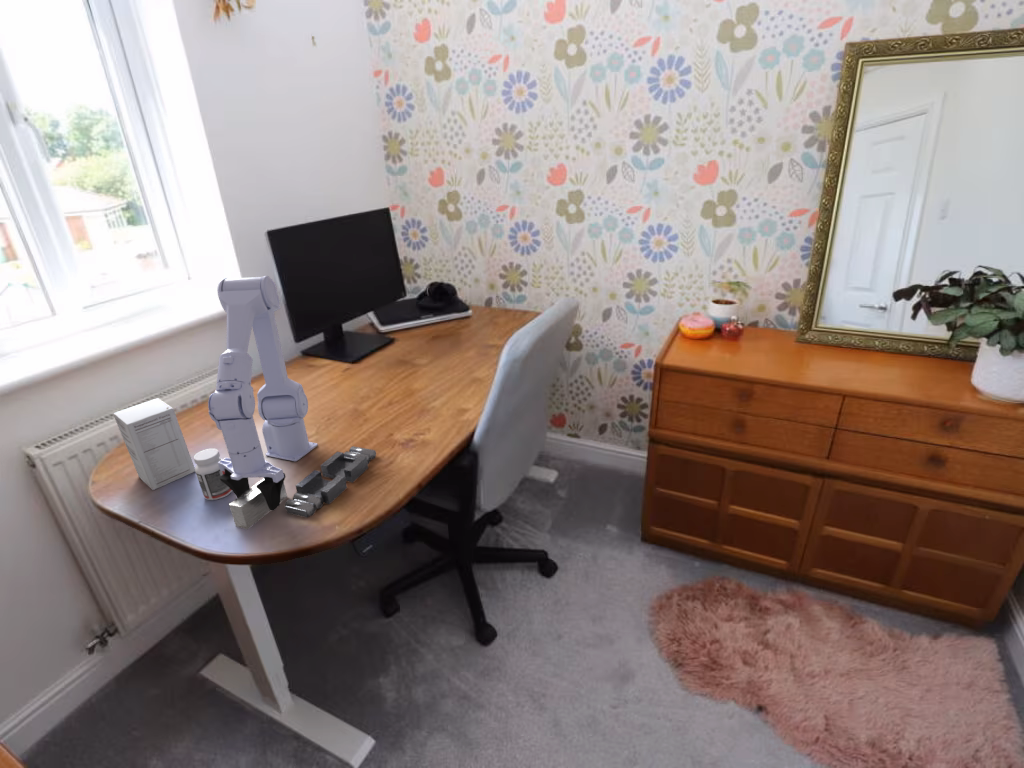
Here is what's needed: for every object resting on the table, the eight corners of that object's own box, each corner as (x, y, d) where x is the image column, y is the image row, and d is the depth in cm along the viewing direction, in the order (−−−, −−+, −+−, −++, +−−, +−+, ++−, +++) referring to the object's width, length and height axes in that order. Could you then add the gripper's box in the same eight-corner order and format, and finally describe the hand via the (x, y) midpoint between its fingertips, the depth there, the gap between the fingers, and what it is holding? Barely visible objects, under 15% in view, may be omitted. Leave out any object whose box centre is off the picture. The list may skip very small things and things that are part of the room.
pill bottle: (238, 484, 117) (226, 446, 113) (226, 500, 112) (213, 460, 108) (212, 486, 117) (199, 447, 113) (199, 501, 112) (185, 462, 107)
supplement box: (181, 458, 128) (159, 396, 121) (197, 471, 122) (175, 406, 115) (136, 477, 121) (111, 412, 114) (151, 491, 116) (125, 424, 109)
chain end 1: (281, 511, 107) (278, 499, 106) (317, 481, 117) (314, 470, 115) (313, 519, 105) (310, 506, 104) (347, 487, 114) (344, 476, 113)
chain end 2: (322, 476, 118) (320, 465, 117) (352, 451, 128) (350, 440, 127) (352, 482, 116) (350, 471, 115) (380, 456, 125) (378, 445, 124)
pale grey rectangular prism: (236, 526, 104) (228, 504, 101) (276, 494, 113) (270, 473, 111) (247, 530, 103) (240, 507, 100) (287, 497, 112) (281, 475, 110)
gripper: (198, 451, 100) (217, 509, 106) (257, 463, 96) (274, 523, 101) (228, 433, 106) (244, 489, 112) (285, 444, 102) (299, 501, 107)
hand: (260, 504), depth 107 cm, fingers open, 7 cm apart
